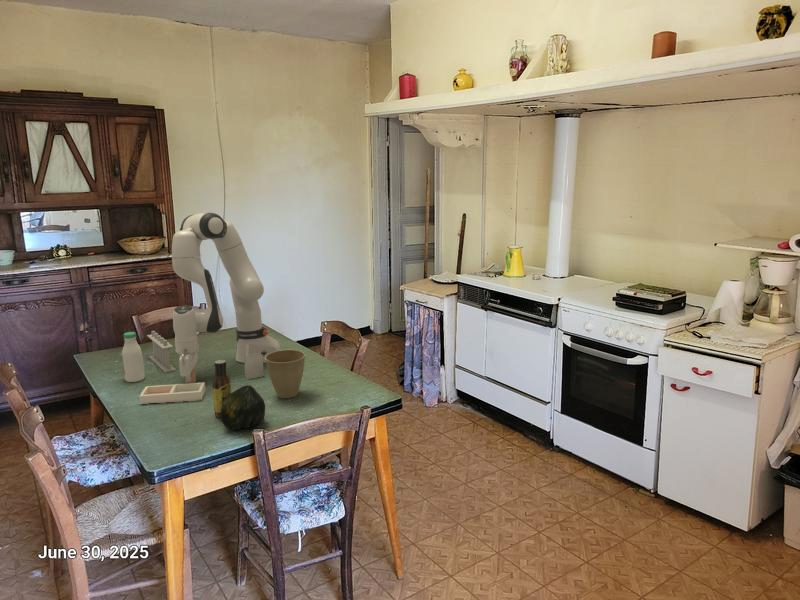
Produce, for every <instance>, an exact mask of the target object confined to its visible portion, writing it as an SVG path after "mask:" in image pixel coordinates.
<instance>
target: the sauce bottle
mask: <svg viewBox="0 0 800 600" xmlns="http://www.w3.org/2000/svg"><path fill="white" fill-rule="evenodd" d="M213 364H214V365H213V367H214V377H213V378H212V397H213V398H212V400H213V410H214V415H215V417H216V416H217V417H216V418H221V408H222V404H223V401H224V399H225V397H226V396H228V395H229V394H231V393H232V382H231V378H230V377H229V375H228V373H227V361H226V360H225V359H219V360H215V361H214V363H213Z"/></svg>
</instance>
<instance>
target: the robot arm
mask: <svg viewBox="0 0 800 600" xmlns="http://www.w3.org/2000/svg"><path fill="white" fill-rule="evenodd" d="M207 240H211V241H212V242H213V243H214V246H215V248H216V251H217V253H218V256H219V258H220V260H221V263H222V265H223V267H224V269H225V271H226V272H227V274H228V276H229V277H230V279H229V286H230V291H231V297H232V298H231V299H232V302H233V307H234V313H235V322H236V328H235V337H236V338H235V339H236V344H237V346H236V347H237V348H236V356H235V361H236V362H239V363H243V364H244V360H245V355H250V354H255V353H261V357H262V362H263V364H266V361H265V356H266V355H267V354H269V353H272V352H275V351H279V350H282V349H281V345H280V343H279V341H278V340H277V339H275V338H274V337H271V336H270V335H268V329H267V327H266V326H265V327H264V326H263V324H262V323H263V322H262V311H261V307H260V304H259V303H260V302H259V300H260V299H261V298H262V297H263V295H264V292H265V288H264V285H263V283H262V281H261V279H260V277H259V275H258V272H257V271H256V269H255V266H254V265H253V264H252V262H251V260H250V258H249V255H248V252H247V250H246V249H245V246H244V243H243V241H242V238H241V236H240V234H239V232H238V230H237V229H236V228H235V226H234V224H233V223H232V222H230V221H229V220H224V219H223V217H222V216H221V215H220V214H217V213H214V212H199V213H197V214H195V213H194V214H190V215H188V216H186V217H185V218H183V220H182V222H181V225H180V228H179V231H177V232H176V231H175V233H174V234H173V235H172V240H171V241H172V242H171V264H172V270H173V272H174V273H175V274H176V275H177V276H178V277H180V278H181V279H183V280H184V281H185V280H186V281H188V282H192V283H195V284H197V285H199V286H200V287H201V288H202V290H203V292H204V297H205V302H206V305H207V308H195V309H194V307H193V306H192V305H188V304H183V305H179V306H176V307H175V308H174V309H173V311H172V327H173V332H174V336H175V337H174V345H175V353H177V354H179V359H178V365H179V376H180V377H185V376H186V380H187V382H191V380H192V376H191V372H192V370H193V368H194V369H195V365H196V364H197V362H198V360H199V359H198V358H199V350H200V340H199V337H198V333H209V334H211V333H212V334H213V333H214V334H215V333H217V332H218V331H220V330H221V329H222V328H223V326H224V318H223V315H222V312H221V308H220V305H219V302H218V296H217V292H216V289H215V288H216V287H215V285H214V281H213V278H212V274H211V272H210V271H209V269H206V268H205V267H204V265H203V262H202V259H201V250H200V249H201V244H202V242H203V241H207Z"/></svg>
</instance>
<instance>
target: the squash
mask: <svg viewBox="0 0 800 600" xmlns="http://www.w3.org/2000/svg"><path fill="white" fill-rule="evenodd" d="M265 415H266V403H265V401H264V398H263V397H262V396H261V395H260V394H259V393H258V391H256V389H255V388H254V387H253V386H252V385H249V384H247V385H244V386H241V387H240V388H237V389H236V390H234V391H231V394H229V395H228V396H226V397H225V399H224V401H223V404H222V408H221V417H220V419H221V422H222V424H223V426H224V427H226V428H227V429H232V430H234V431H237V430H241V428H243V429H248V428H251V427H255V426H258V425H261V424H262V422H263V421H264V420H265Z"/></svg>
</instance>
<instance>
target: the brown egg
mask: <svg viewBox="0 0 800 600" xmlns="http://www.w3.org/2000/svg"><path fill="white" fill-rule="evenodd" d="M191 376H192V380H191V382H187V380H186V376H184V378H185V384H188V383H197V378H196V377H197V376H196V368H195V367H194V368H193V370H192V372H191Z"/></svg>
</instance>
